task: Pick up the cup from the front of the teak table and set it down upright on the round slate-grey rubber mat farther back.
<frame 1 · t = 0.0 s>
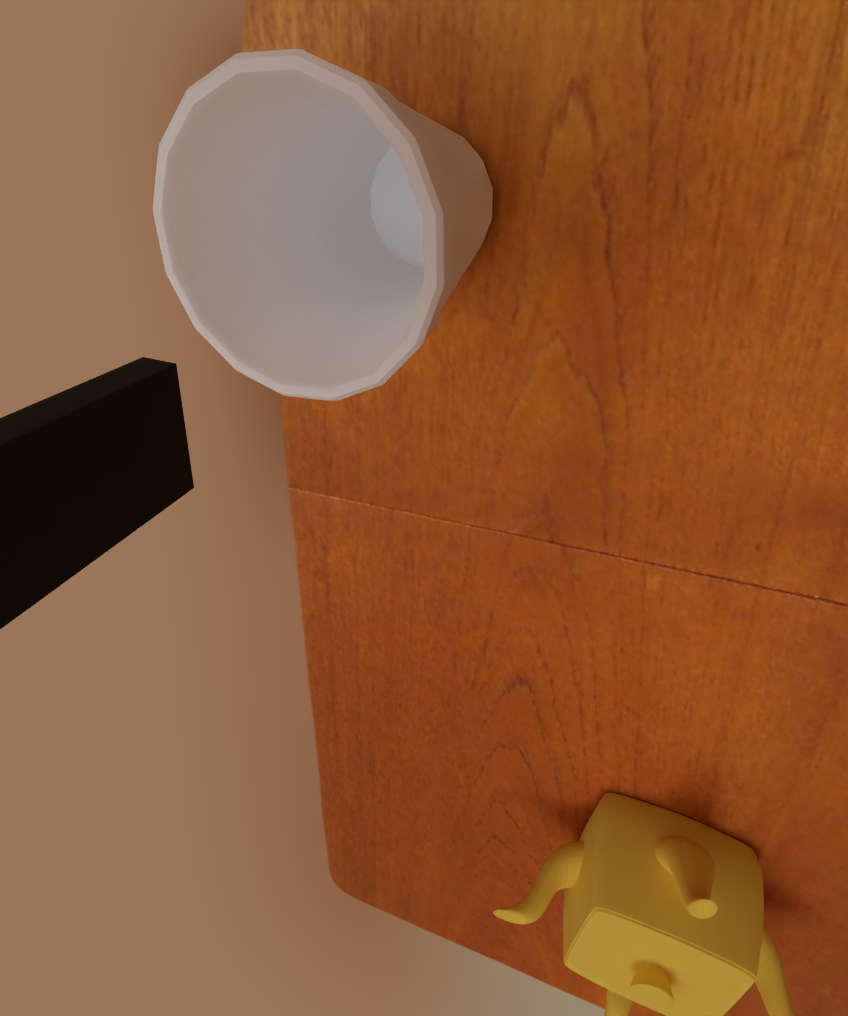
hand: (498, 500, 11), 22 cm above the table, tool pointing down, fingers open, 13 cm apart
teapot: (659, 849, 47), on the table
cup: (431, 202, 31), on the table
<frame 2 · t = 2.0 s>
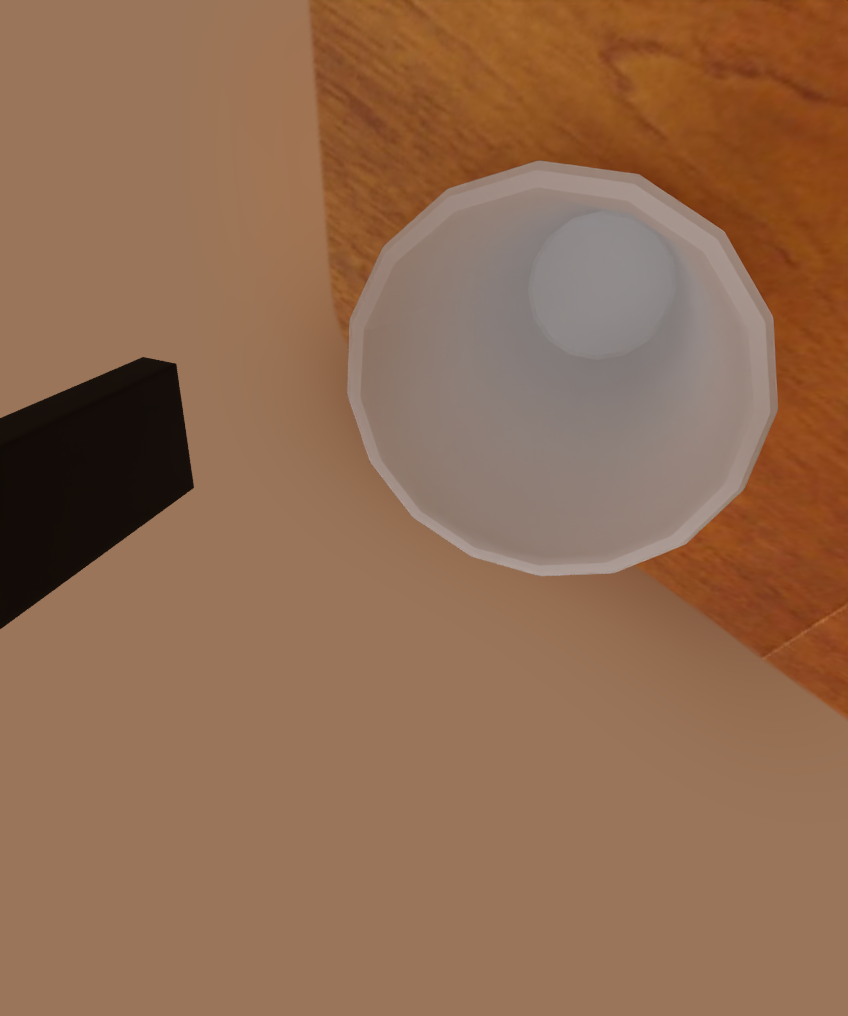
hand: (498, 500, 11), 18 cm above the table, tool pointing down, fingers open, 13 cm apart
cup: (601, 284, 26), on the table
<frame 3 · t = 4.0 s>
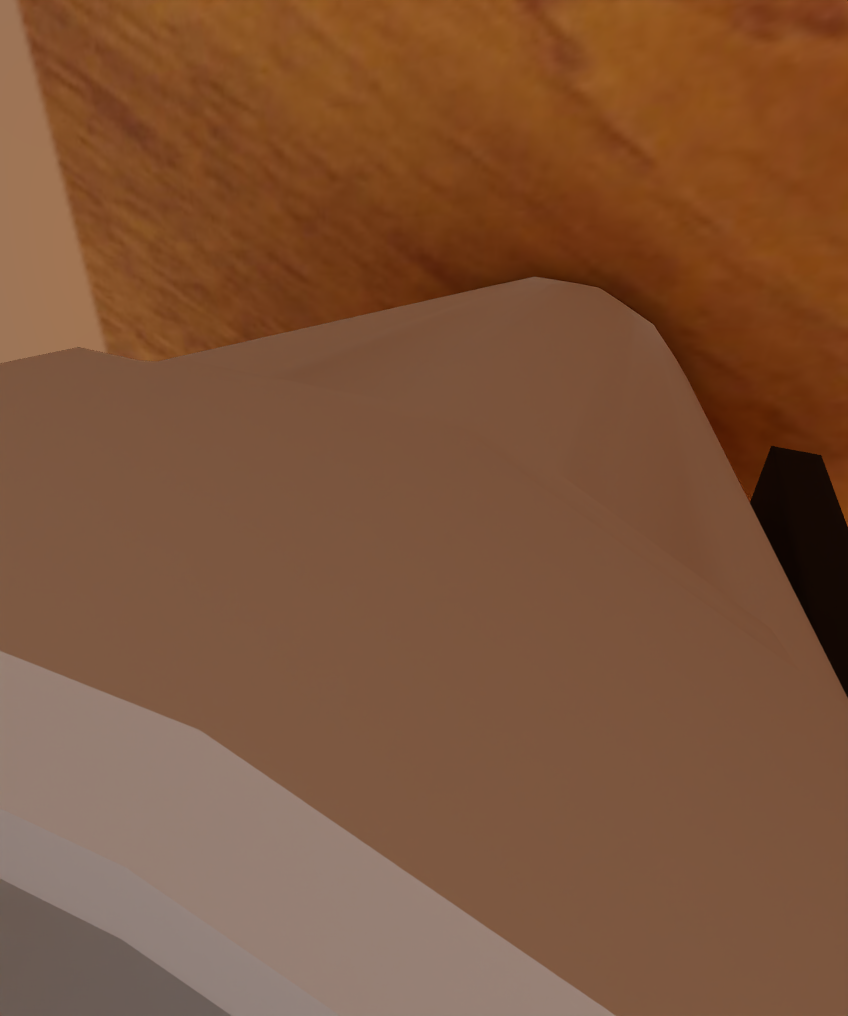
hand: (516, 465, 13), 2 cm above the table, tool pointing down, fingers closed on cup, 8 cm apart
cup: (541, 417, 15), on the table, touching gripper
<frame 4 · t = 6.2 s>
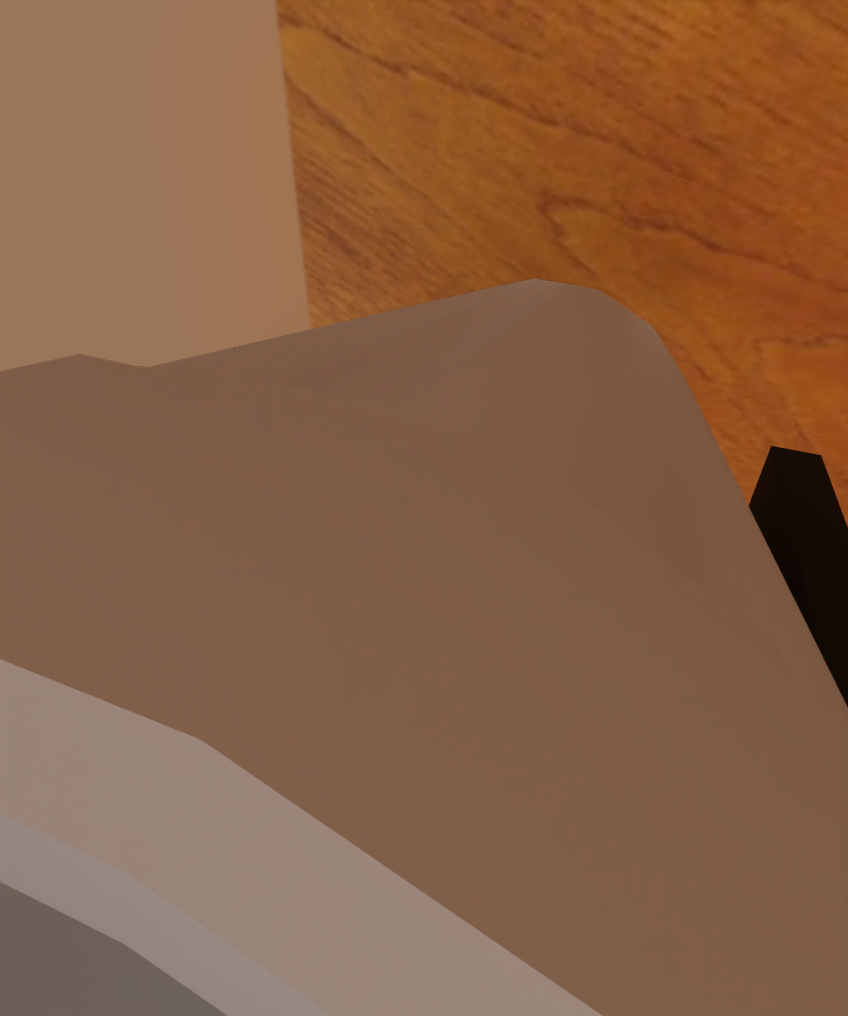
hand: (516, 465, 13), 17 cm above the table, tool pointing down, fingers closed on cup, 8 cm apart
cup: (541, 419, 15), point 15 cm above the table, touching gripper
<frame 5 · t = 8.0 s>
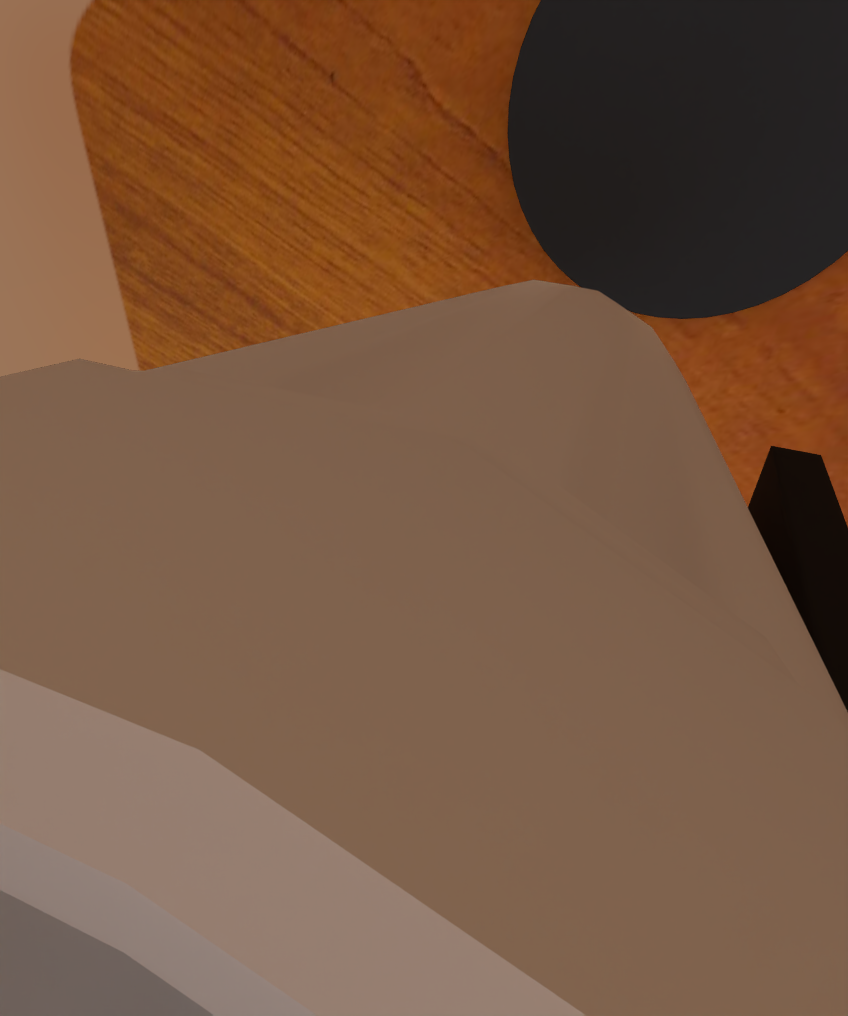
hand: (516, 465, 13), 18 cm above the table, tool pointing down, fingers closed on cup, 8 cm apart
mat: (704, 116, 23), on the table
cup: (541, 420, 15), point 15 cm above the table, touching gripper
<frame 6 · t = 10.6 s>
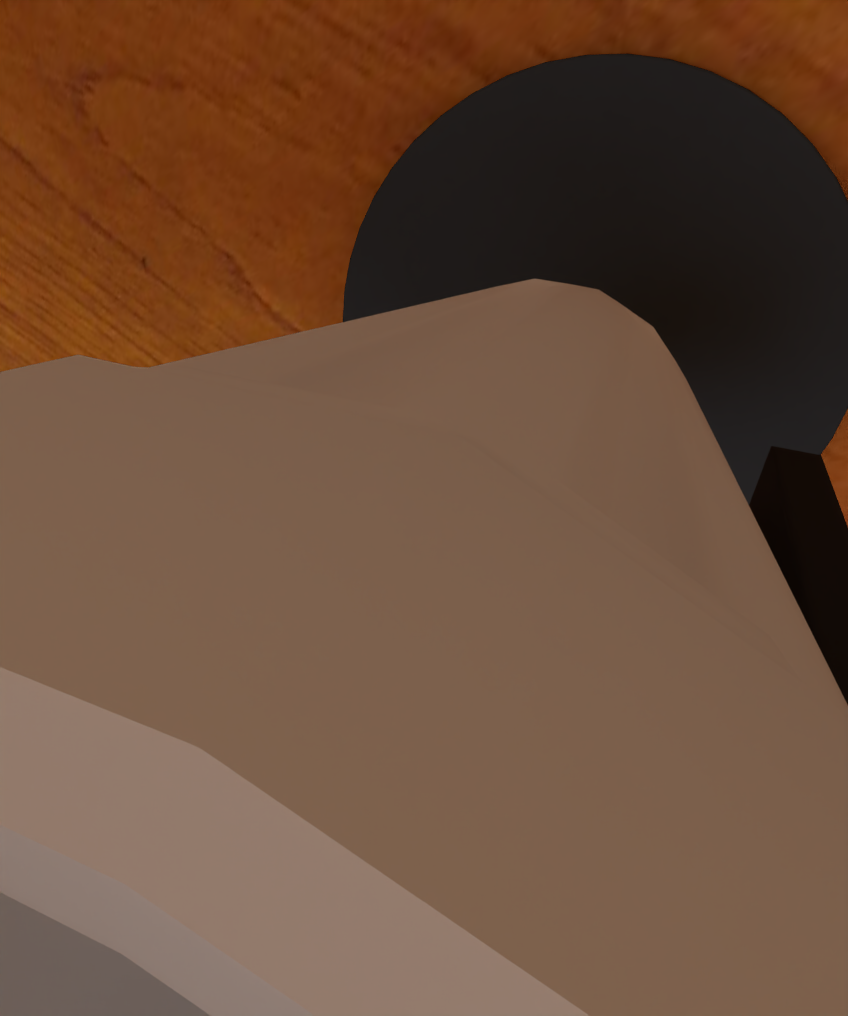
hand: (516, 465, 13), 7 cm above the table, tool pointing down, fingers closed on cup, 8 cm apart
mat: (573, 353, 19), on the table
cup: (541, 419, 15), point 5 cm above the table, touching gripper
when the fingers open (3 cm above the table, at t = 12.2 s): cup stays where it is, resting on mat.
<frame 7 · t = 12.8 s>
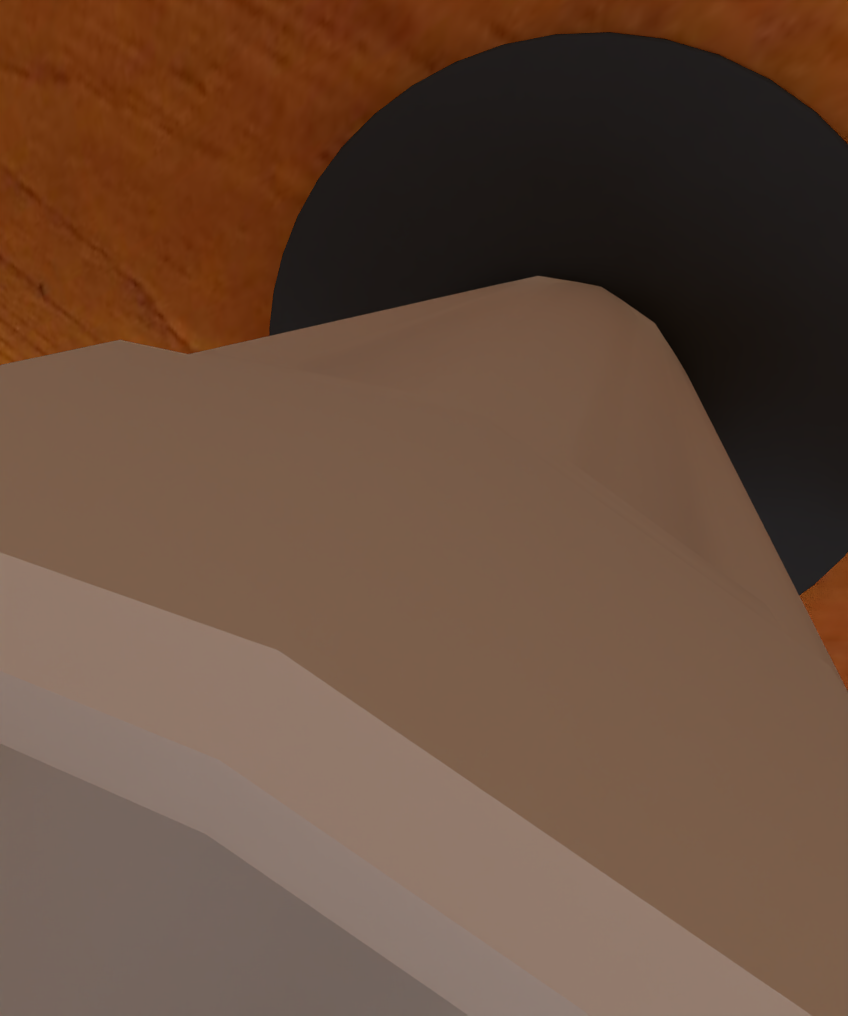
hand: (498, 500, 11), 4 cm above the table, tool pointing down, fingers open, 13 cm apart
mat: (547, 408, 15), on the table
cup: (544, 415, 15), resting on mat
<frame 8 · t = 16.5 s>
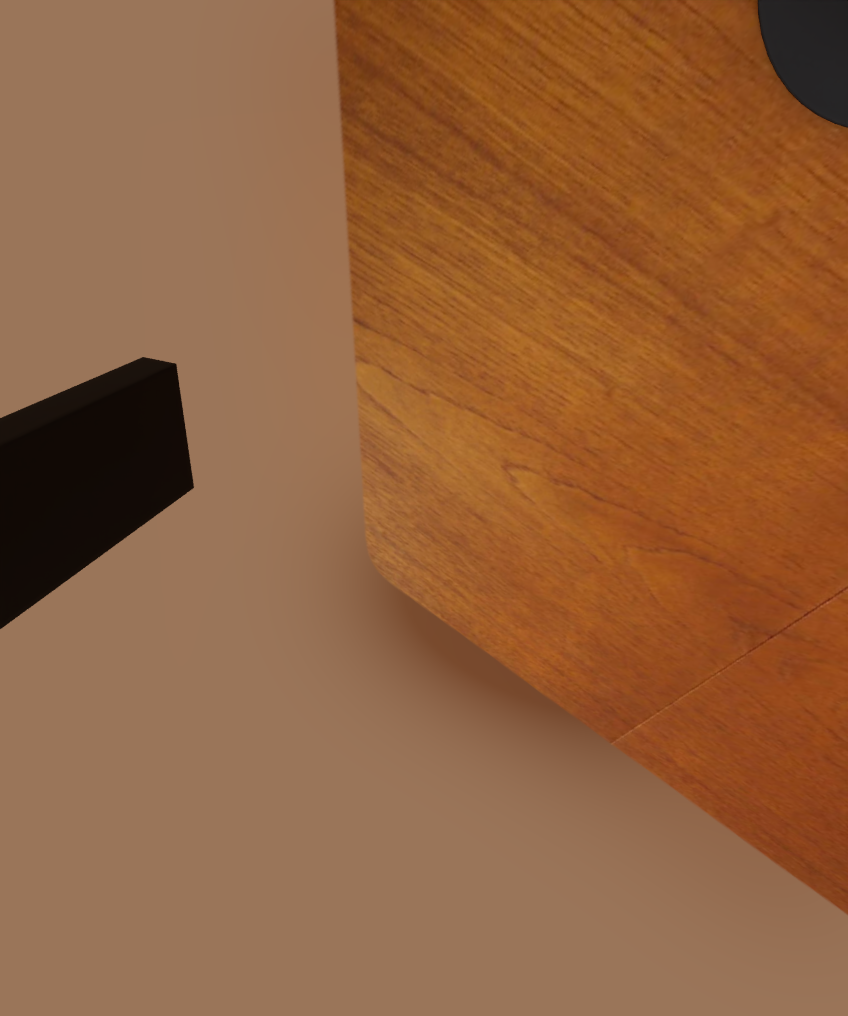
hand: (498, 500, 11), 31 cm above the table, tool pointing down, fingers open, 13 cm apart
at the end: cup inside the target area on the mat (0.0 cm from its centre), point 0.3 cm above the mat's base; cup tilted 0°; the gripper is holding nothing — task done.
